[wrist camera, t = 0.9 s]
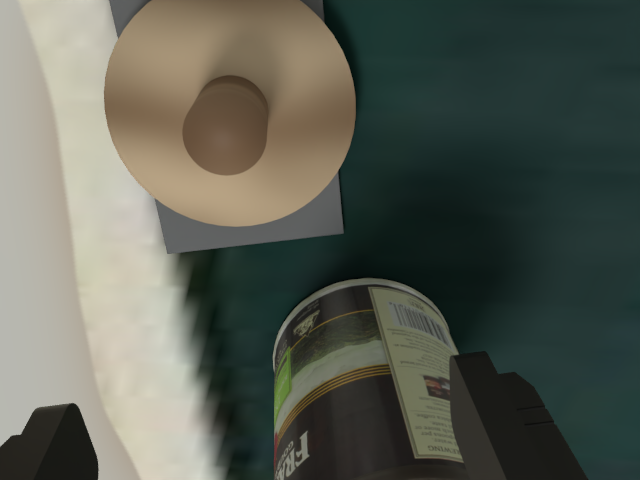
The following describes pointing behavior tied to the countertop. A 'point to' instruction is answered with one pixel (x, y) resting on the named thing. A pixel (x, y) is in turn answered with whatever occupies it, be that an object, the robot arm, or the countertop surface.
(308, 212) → the mat
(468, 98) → the countertop surface
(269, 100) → the lid
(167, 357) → the countertop surface
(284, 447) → the coffee can
